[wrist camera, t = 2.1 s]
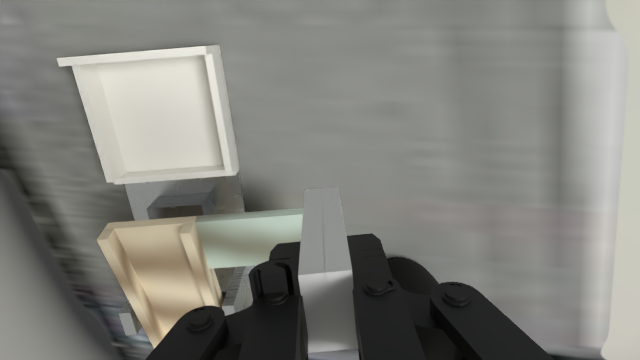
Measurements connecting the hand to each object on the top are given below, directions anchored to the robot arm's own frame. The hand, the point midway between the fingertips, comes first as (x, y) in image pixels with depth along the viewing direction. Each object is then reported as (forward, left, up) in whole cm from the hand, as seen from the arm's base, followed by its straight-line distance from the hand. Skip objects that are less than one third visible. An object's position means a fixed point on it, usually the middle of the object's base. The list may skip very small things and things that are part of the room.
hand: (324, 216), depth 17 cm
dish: (-2, -14, -19) cm, 23 cm away
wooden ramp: (+14, -9, -14) cm, 22 cm away
